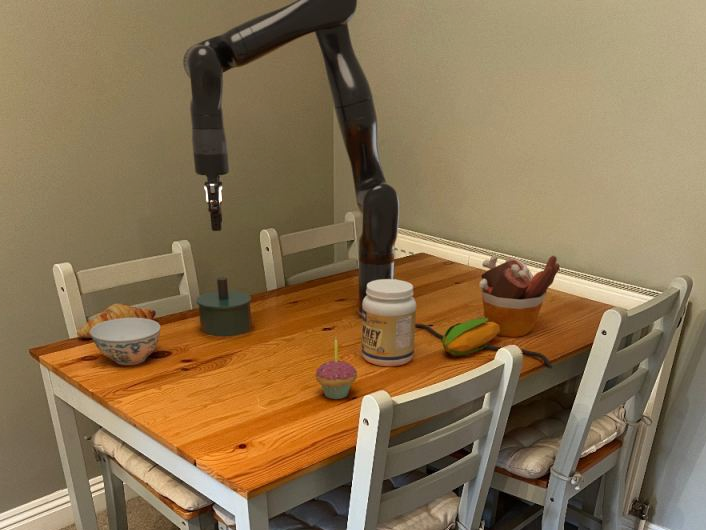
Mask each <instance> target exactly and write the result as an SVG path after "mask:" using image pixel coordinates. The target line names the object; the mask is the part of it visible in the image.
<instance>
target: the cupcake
mask: <svg viewBox="0 0 706 530" xmlns="http://www.w3.org/2000/svg"><path fill="white" fill-rule="evenodd" d="M334 337H335V339H334V341H333V342H334V345H333V346H334V360H330V361H325V362H323V363H322V364H321V365H320V366H319V367H317V369H315V370H316V371H315V377H316V378H315V379H316V382H317V383H318V384H320V386H321V388H322V391H323V394H324V396H325V397H326V398H328V399H330V400H331V399H332V400H342V399H345V398H346V397H347V396H348V395H349V391H350V388H351V385H352V384H353V383H355V382H356V380H357V379H358V371H357V369H356V368H355V367H354V366H353V365H352V364H351V363H349V362H346V361H343V360H339V345H338V343H339V341H338V340H337V335H335V336H334Z"/></svg>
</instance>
